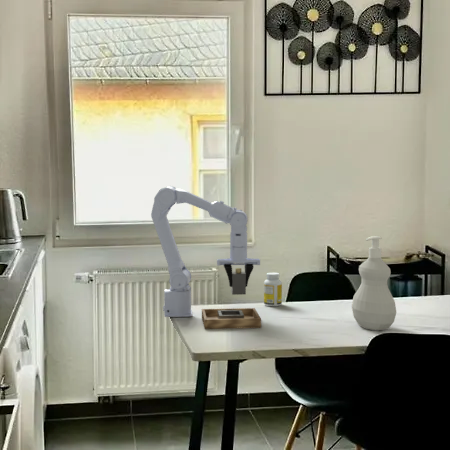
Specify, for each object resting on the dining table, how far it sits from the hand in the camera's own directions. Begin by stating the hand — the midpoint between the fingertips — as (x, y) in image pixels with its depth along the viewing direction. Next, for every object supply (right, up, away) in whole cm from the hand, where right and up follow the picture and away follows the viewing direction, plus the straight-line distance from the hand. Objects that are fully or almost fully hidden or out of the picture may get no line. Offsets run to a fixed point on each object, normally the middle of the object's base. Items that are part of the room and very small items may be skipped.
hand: (238, 286), depth 268 cm
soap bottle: (+43, -12, -14) cm, 47 cm away
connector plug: (0, -2, 0) cm, 3 cm away
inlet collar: (-3, -11, -9) cm, 14 cm away
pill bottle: (+13, -9, +20) cm, 25 cm away
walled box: (-3, -11, -9) cm, 14 cm away
